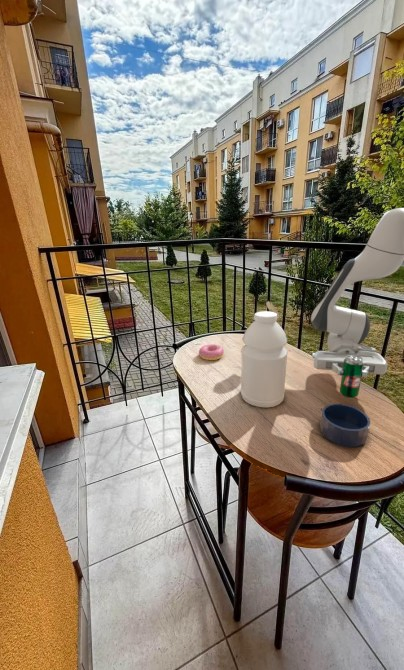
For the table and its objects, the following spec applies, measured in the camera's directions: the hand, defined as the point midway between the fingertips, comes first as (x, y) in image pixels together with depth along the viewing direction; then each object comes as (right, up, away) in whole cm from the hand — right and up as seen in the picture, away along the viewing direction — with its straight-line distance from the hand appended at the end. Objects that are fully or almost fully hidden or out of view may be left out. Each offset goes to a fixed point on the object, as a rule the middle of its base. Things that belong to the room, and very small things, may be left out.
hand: (352, 374), depth 81 cm
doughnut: (-40, +2, +41) cm, 57 cm away
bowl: (-6, -14, -7) cm, 17 cm away
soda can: (+1, -7, +3) cm, 7 cm away
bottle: (-24, -9, +11) cm, 28 cm away
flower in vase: (-17, 0, +33) cm, 38 cm away
